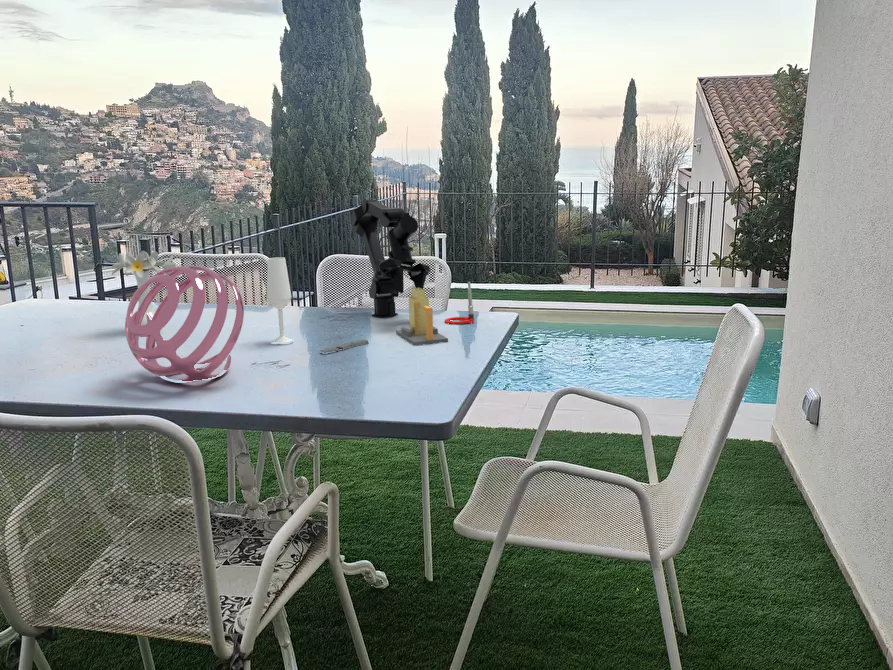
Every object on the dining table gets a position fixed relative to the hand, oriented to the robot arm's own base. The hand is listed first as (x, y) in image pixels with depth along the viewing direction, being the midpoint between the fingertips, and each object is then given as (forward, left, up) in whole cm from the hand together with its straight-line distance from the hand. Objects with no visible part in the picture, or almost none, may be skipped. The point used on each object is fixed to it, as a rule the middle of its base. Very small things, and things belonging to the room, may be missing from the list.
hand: (411, 294), depth 218 cm
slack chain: (0, -30, -10) cm, 32 cm away
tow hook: (+7, +15, -11) cm, 20 cm away
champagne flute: (-20, -34, -11) cm, 41 cm away
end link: (+9, -8, -9) cm, 15 cm away
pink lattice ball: (-11, -71, -11) cm, 73 cm away
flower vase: (-66, -47, -11) cm, 82 cm away
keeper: (+11, -9, -10) cm, 17 cm away
